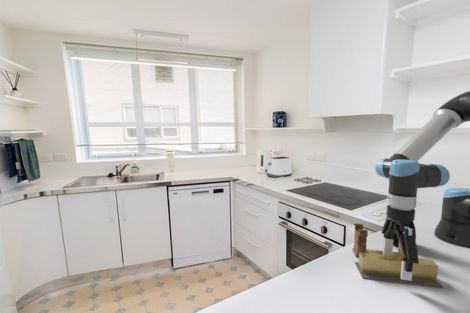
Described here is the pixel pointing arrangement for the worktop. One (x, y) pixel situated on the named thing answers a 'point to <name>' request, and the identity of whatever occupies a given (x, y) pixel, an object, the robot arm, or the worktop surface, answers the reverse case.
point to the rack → (361, 241)
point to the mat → (399, 279)
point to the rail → (396, 266)
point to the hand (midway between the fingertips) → (395, 266)
